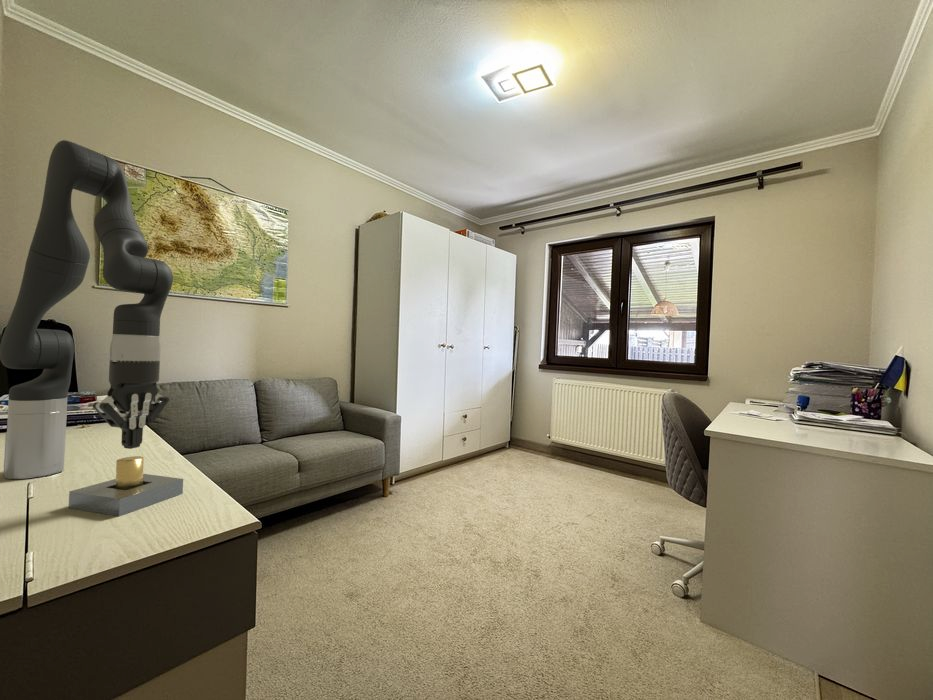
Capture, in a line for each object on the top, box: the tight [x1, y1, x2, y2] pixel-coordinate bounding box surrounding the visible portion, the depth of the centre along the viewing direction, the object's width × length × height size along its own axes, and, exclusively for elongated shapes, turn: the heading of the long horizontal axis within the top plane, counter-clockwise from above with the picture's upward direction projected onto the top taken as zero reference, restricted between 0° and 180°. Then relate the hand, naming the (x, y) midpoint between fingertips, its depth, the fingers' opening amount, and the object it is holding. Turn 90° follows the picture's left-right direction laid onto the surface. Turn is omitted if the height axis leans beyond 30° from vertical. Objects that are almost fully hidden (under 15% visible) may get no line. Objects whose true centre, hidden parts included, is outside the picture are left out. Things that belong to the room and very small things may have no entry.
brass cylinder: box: [115, 455, 144, 490], centre depth 76 cm, size 4×4×8 cm
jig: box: [68, 473, 184, 517], centre depth 76 cm, size 12×12×3 cm
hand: (131, 447), depth 77 cm, fingers closed
